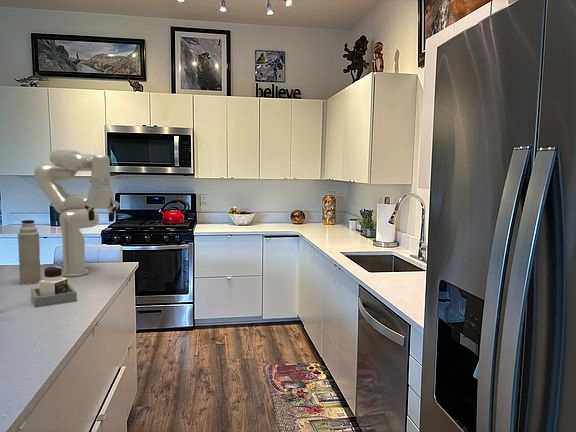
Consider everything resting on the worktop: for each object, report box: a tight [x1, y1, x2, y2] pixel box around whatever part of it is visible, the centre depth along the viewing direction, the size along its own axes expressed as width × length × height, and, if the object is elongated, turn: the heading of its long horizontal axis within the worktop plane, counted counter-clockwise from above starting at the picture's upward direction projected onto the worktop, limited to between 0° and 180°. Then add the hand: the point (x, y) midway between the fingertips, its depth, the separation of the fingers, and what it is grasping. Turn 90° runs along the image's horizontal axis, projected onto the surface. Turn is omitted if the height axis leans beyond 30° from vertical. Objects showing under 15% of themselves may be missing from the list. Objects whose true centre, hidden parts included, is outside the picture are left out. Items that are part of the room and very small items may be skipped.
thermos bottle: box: [17, 219, 42, 285], centre depth 187 cm, size 8×8×28 cm
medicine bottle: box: [38, 265, 69, 297], centre depth 165 cm, size 7×7×12 cm
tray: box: [30, 283, 78, 308], centre depth 165 cm, size 14×14×4 cm
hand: (101, 220), depth 189 cm, fingers open, 9 cm apart
